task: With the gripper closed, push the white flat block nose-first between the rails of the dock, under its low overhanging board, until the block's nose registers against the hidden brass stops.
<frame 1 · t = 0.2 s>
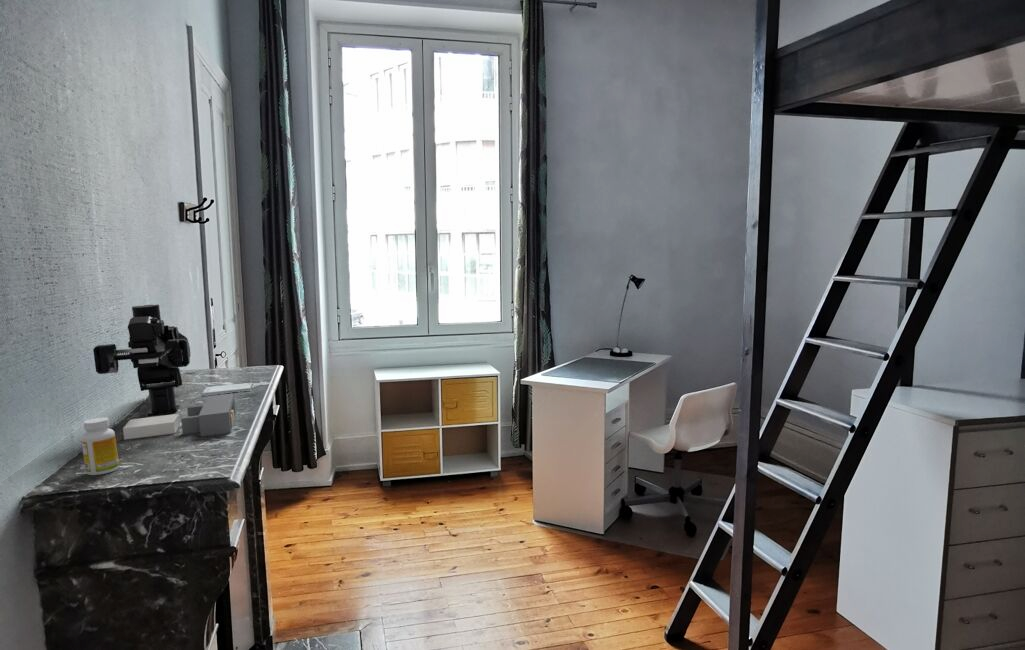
hand: (135, 363, 146), 17 cm above the table, tool horizontal, fingers open, 9 cm apart
dock: (210, 424, 157), on the table
white flat block: (153, 431, 153), on the table
hard drive: (228, 393, 194), on the table
supplement bottle: (103, 471, 128), on the table
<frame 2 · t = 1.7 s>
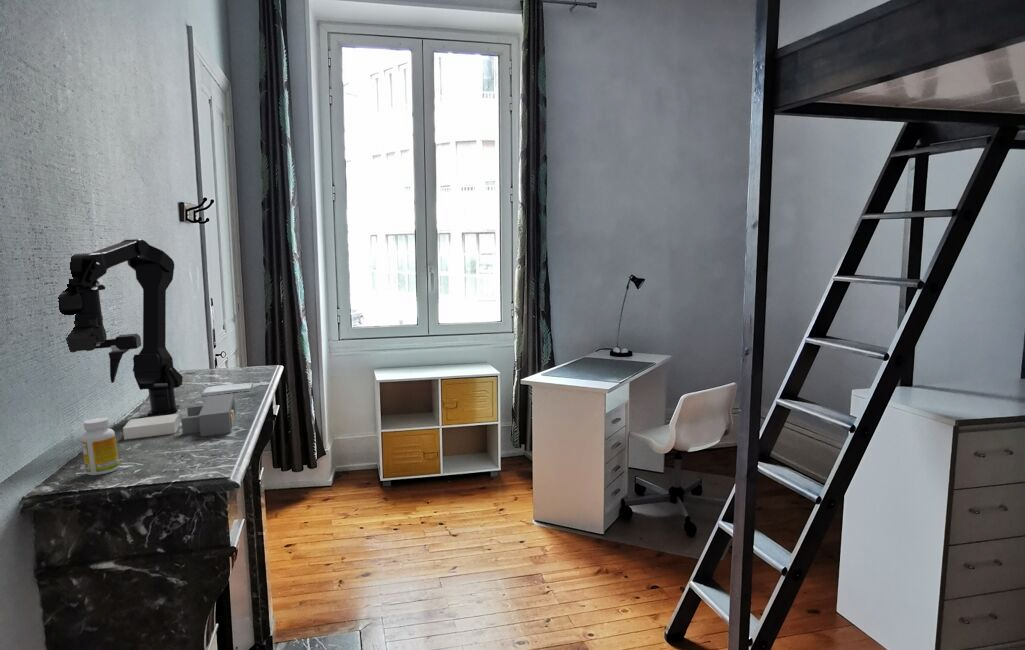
hand: (95, 384, 149), 12 cm above the table, tool pointing down, fingers open, 6 cm apart
nothing on the table moved.
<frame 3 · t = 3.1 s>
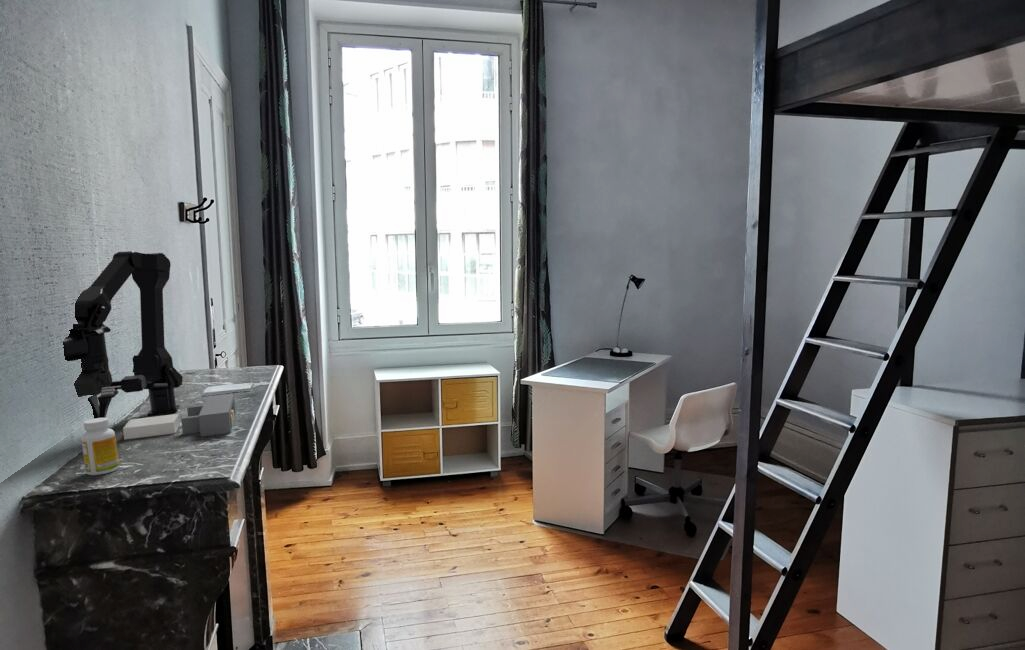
hand: (101, 426, 150), 3 cm above the table, tool pointing down, fingers closed
nothing on the table moved.
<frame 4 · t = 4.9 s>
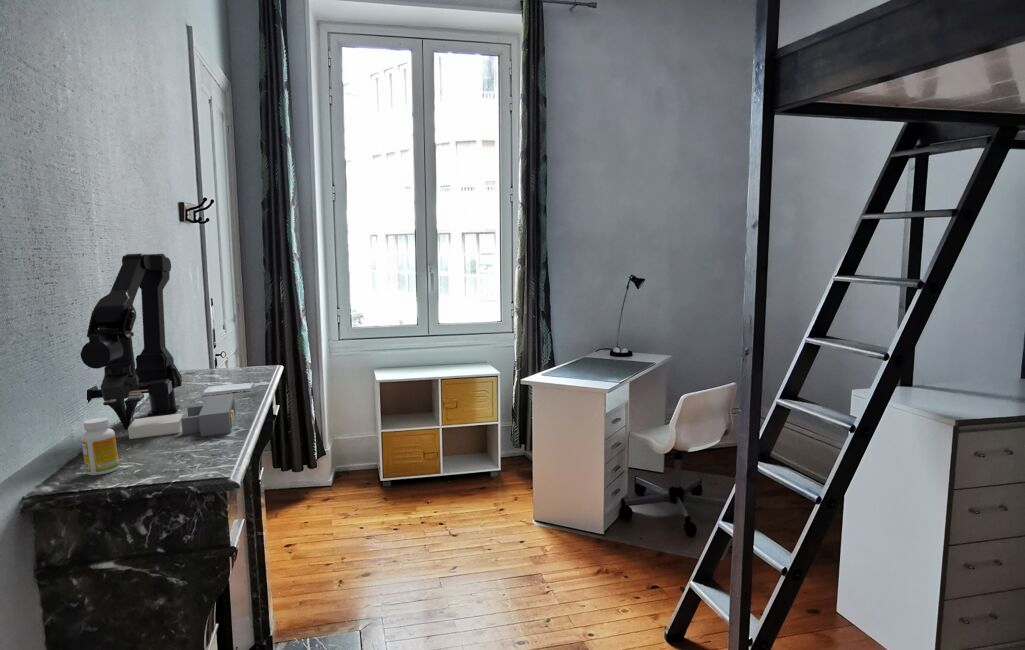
hand: (127, 429, 152), 1 cm above the table, tool pointing down, fingers closed
white flat block: (157, 431, 154), on the table, touching gripper
everything else where it was.
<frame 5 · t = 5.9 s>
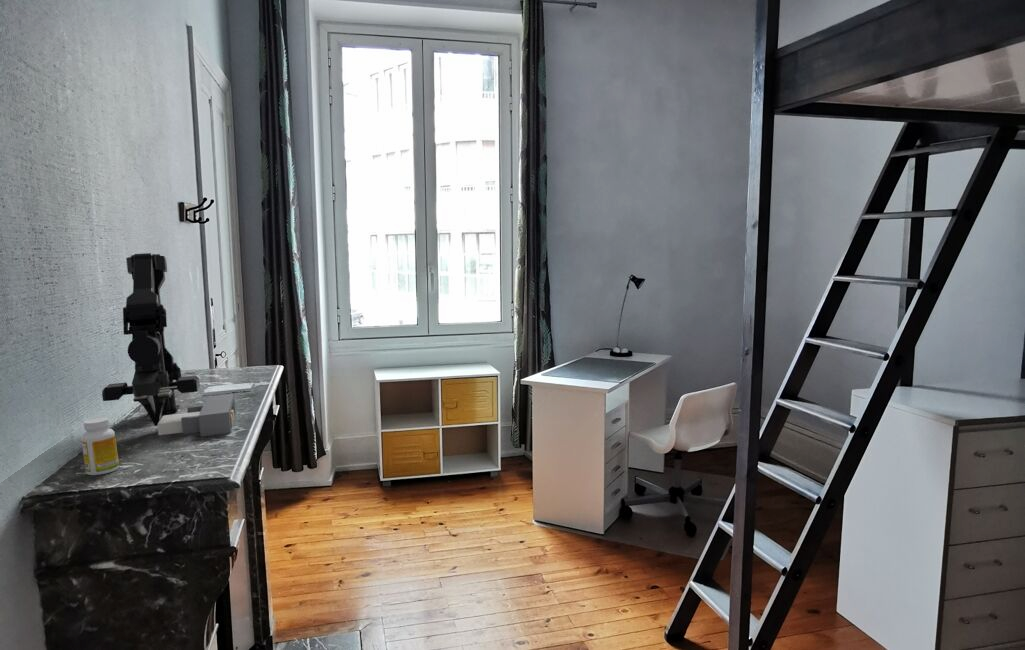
hand: (156, 425, 153), 1 cm above the table, tool pointing down, fingers closed
white flat block: (186, 427, 155), on the table, touching gripper
everything else where it was.
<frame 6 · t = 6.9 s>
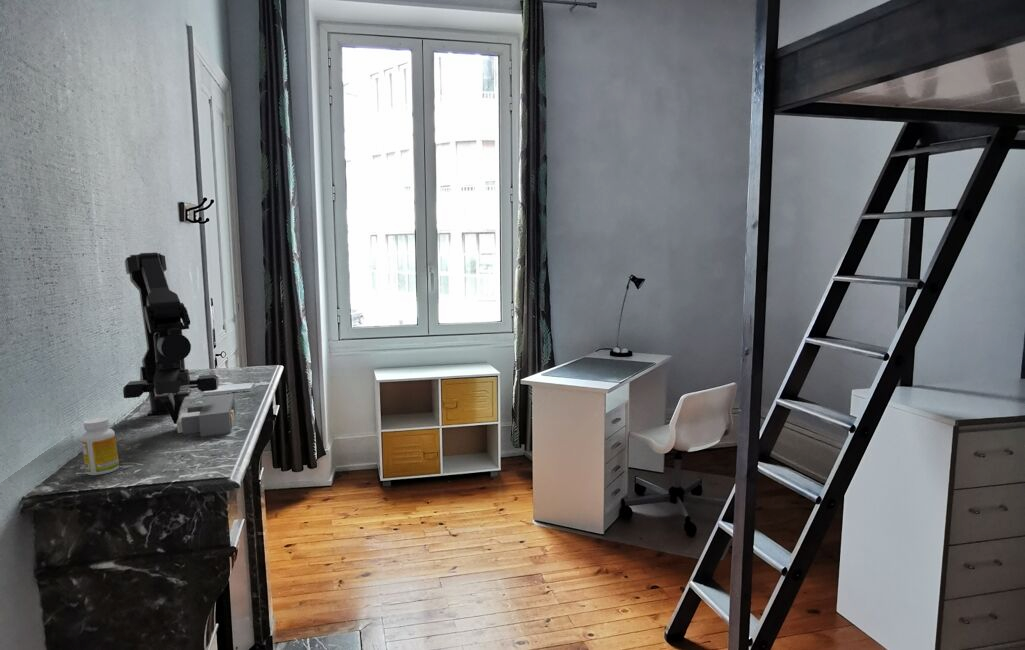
hand: (175, 423, 155), 1 cm above the table, tool pointing down, fingers closed
white flat block: (204, 425, 157), on the table, touching dock, gripper
everything else where it was.
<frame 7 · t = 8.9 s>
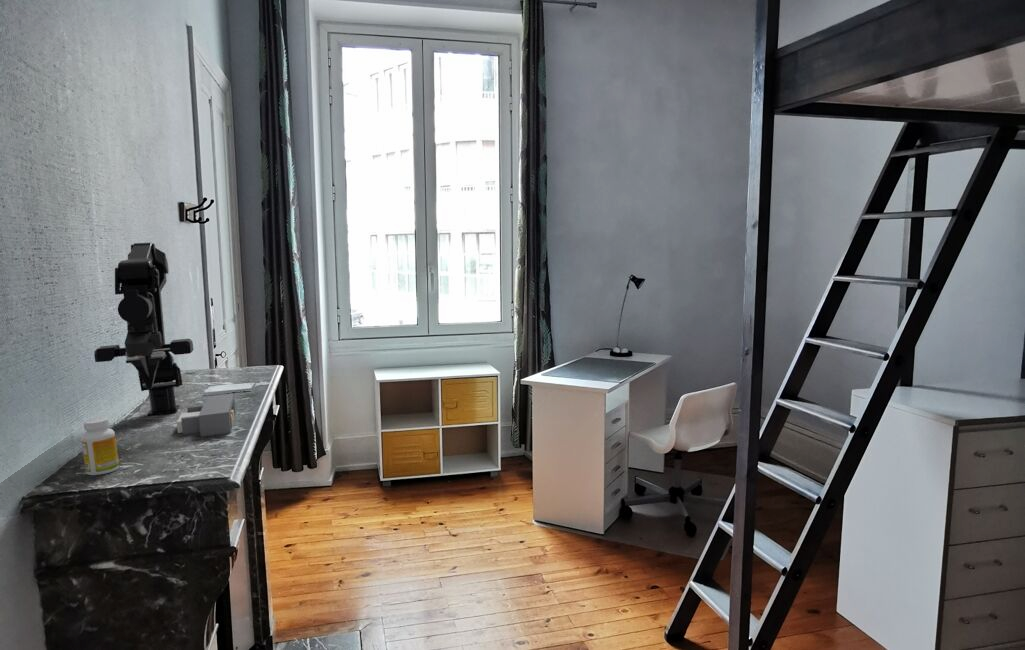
hand: (150, 388, 152), 10 cm above the table, tool pointing down, fingers closed
white flat block: (204, 425, 157), on the table
everything else where it was.
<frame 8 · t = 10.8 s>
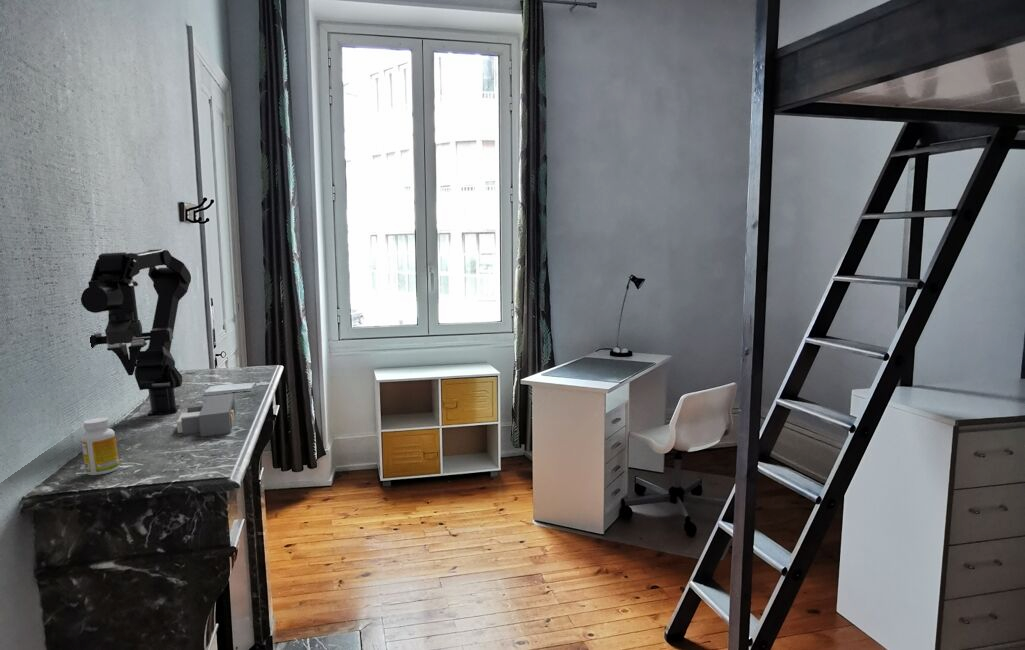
hand: (130, 375, 158), 12 cm above the table, tool pointing down, fingers closed
nothing on the table moved.
at the end: white flat block 0.2 cm from the target spot on the dock, point 0.0 cm above the dock's base; white flat block tilted 0° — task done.
